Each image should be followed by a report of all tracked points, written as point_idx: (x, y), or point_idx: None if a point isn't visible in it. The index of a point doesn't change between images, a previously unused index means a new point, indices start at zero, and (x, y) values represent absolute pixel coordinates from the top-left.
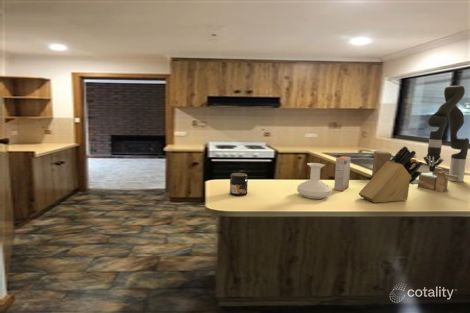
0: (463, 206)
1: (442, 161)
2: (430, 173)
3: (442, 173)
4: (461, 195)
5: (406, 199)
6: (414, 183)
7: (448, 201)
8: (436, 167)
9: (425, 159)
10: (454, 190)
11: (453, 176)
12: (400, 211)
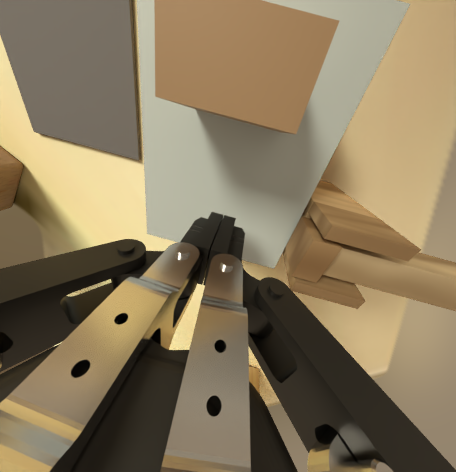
0: (387, 348)
1: (428, 449)
2: (177, 115)
3: (339, 299)
4: (409, 216)
5: (258, 371)
6: (138, 146)
7: (345, 330)
8: (186, 9)
9: (9, 351)
10: (382, 93)
11: (437, 301)
12: (276, 403)
